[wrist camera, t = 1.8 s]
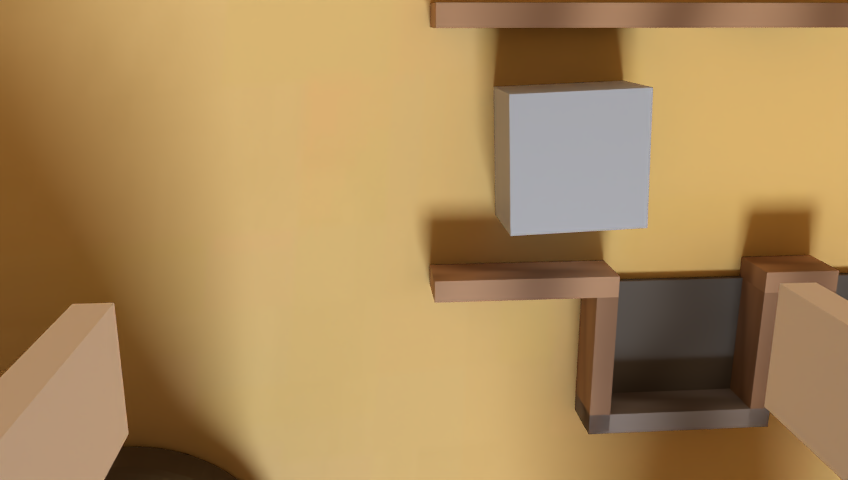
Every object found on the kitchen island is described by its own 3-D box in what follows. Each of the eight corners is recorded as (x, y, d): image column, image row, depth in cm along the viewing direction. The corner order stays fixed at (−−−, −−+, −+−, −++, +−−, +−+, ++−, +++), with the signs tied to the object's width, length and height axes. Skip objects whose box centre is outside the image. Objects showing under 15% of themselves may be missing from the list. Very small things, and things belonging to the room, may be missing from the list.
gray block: (494, 213, 38) (510, 236, 34) (493, 86, 36) (509, 94, 32) (618, 206, 38) (647, 227, 34) (621, 80, 36) (653, 87, 33)
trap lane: (429, 415, 40) (437, 457, 36) (430, 3, 35) (439, 2, 31) (1038, 390, 43) (1106, 427, 39) (1128, 4, 37) (1217, 2, 33)
